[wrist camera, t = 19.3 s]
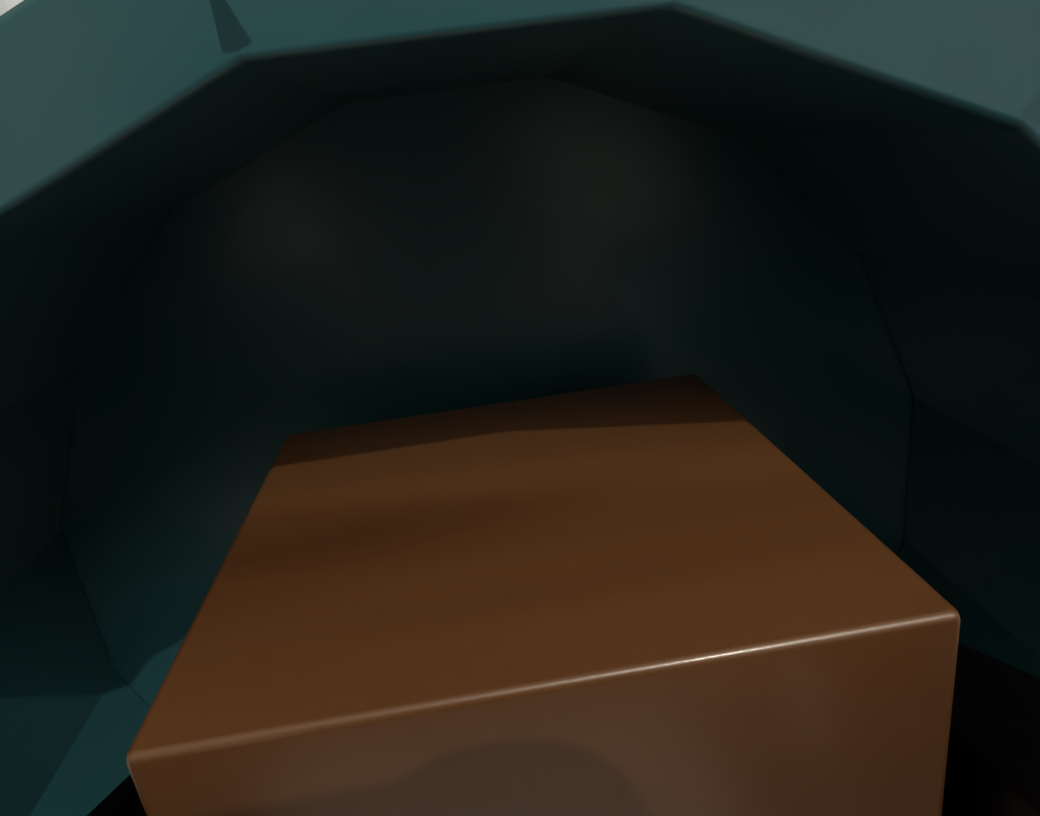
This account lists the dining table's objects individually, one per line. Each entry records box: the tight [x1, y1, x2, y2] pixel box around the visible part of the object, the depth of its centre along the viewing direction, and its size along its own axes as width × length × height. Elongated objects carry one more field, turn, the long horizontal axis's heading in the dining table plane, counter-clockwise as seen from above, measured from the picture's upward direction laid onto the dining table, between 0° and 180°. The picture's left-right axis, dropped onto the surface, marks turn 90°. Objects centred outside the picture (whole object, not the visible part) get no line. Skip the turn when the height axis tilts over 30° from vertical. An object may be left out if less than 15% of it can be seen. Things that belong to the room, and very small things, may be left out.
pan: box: [0, 0, 1040, 816], centre depth 9 cm, size 14×19×5 cm
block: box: [126, 374, 961, 816], centre depth 8 cm, size 5×5×5 cm
